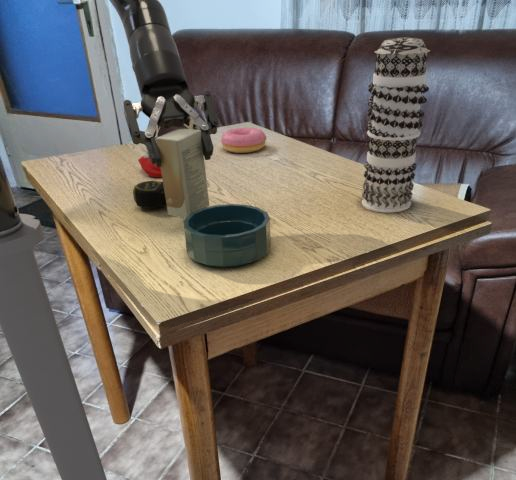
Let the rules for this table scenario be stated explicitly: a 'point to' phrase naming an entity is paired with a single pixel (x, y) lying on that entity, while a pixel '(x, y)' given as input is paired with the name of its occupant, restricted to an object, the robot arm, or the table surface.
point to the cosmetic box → (183, 171)
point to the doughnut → (243, 140)
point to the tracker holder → (149, 166)
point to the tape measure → (149, 194)
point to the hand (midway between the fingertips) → (184, 160)
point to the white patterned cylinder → (394, 123)
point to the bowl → (227, 235)
